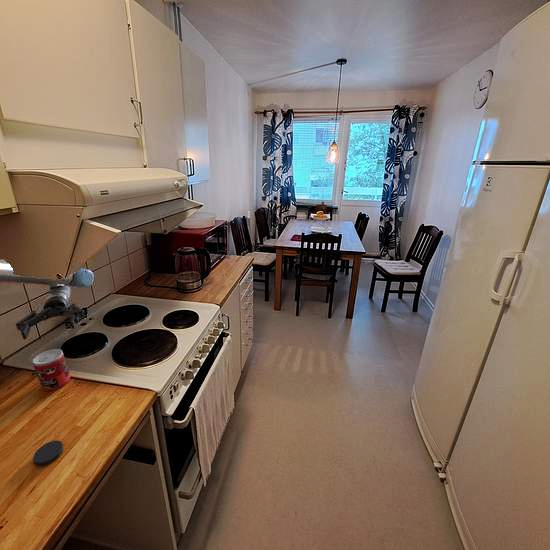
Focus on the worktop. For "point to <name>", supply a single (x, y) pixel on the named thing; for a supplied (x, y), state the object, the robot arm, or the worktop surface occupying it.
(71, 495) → the worktop surface
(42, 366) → the canned food
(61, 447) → the pad
